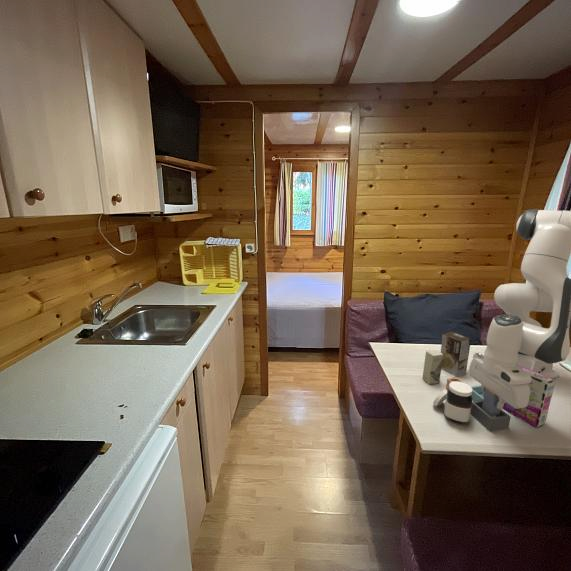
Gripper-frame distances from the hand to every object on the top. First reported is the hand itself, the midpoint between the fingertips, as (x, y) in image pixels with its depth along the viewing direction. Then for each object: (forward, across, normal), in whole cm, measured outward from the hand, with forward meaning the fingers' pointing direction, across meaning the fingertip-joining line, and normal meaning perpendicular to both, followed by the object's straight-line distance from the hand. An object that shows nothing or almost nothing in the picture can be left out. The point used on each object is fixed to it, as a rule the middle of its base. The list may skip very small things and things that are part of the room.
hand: (492, 402), depth 102 cm
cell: (+4, 0, 0) cm, 4 cm away
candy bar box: (+7, 0, +13) cm, 15 cm away
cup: (+7, -16, 0) cm, 18 cm away
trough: (+7, -10, +7) cm, 14 cm away
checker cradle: (+7, 0, 0) cm, 7 cm away
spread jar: (+7, -6, -10) cm, 14 cm away
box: (+7, -25, -4) cm, 27 cm away
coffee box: (+7, -31, +10) cm, 33 cm away
